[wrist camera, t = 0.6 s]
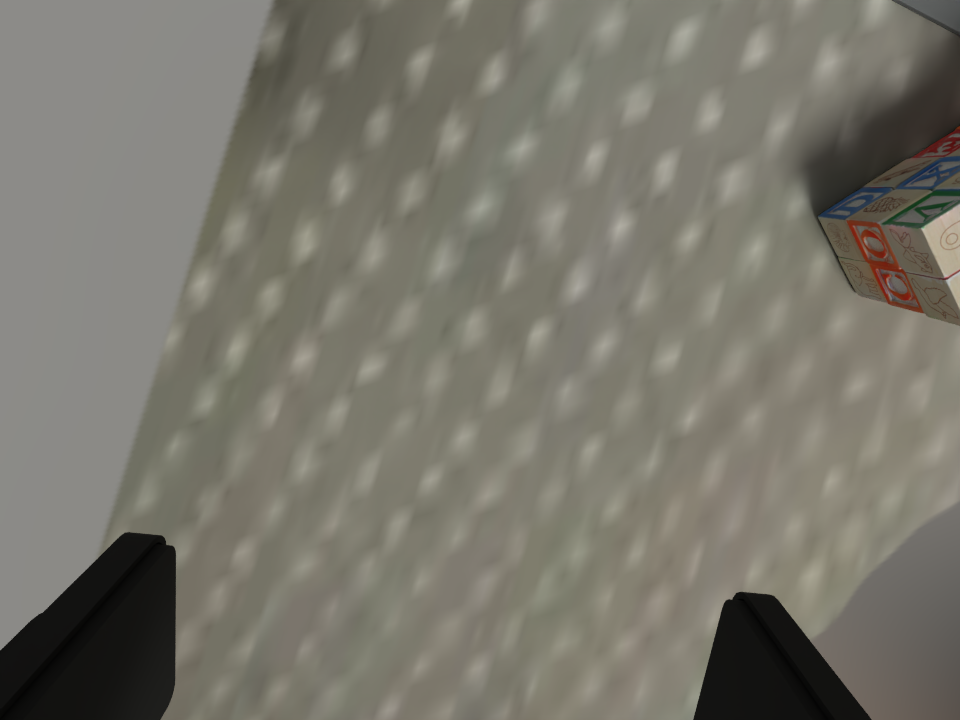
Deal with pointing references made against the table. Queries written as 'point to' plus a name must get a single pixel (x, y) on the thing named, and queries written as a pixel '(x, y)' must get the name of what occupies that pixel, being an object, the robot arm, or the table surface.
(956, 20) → the mat
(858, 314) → the table surface
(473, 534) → the table surface
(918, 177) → the stack of blocks
